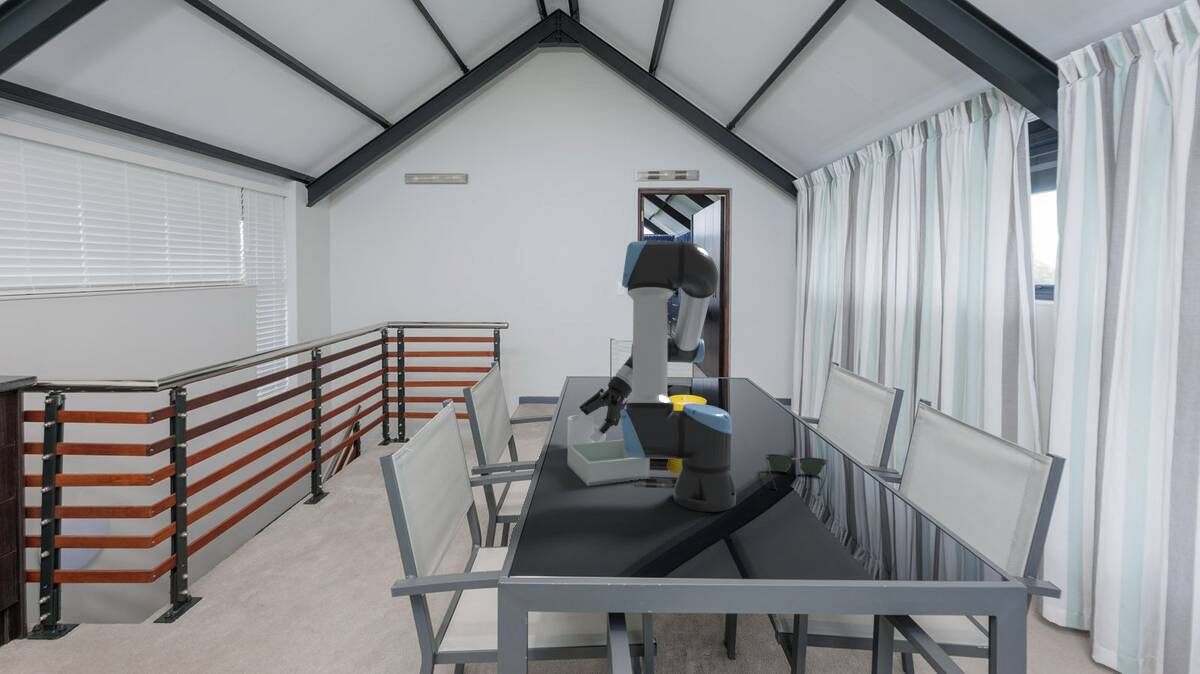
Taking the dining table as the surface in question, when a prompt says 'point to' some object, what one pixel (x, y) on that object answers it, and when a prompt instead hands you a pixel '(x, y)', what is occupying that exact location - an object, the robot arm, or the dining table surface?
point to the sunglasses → (807, 465)
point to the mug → (581, 429)
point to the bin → (606, 463)
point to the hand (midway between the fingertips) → (582, 434)
